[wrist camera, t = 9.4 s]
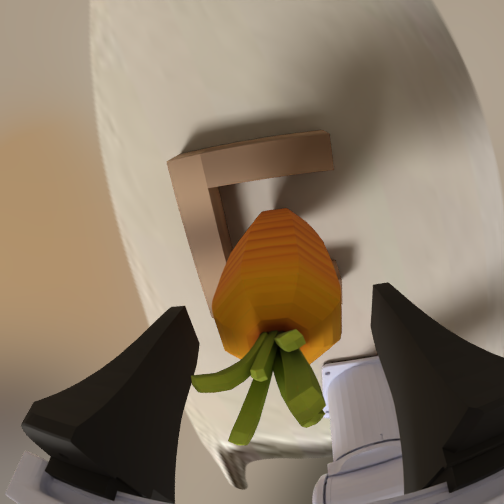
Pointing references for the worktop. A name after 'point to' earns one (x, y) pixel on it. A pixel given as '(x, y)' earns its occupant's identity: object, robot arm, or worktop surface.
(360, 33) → the worktop surface
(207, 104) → the worktop surface
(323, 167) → the walnut bracket
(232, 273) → the carrot
